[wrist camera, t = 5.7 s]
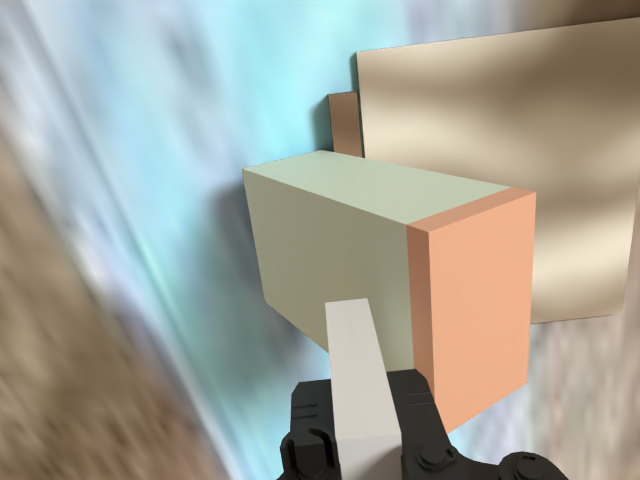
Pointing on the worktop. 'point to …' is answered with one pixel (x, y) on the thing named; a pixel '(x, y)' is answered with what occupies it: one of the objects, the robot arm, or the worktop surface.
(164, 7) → the worktop surface
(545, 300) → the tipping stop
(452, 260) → the sage block
